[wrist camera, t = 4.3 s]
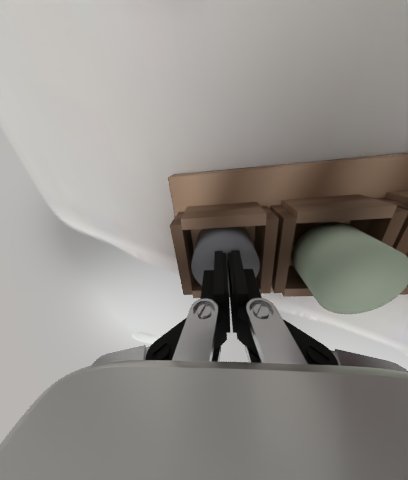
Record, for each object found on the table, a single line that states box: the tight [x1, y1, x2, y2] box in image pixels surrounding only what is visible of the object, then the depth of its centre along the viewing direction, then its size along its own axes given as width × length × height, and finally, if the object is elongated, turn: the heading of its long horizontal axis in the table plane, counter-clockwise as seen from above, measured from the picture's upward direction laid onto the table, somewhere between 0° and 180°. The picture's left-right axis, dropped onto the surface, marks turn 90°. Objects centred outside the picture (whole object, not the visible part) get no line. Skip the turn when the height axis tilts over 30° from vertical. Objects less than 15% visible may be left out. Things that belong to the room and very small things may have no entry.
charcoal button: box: [191, 227, 260, 293], centre depth 13 cm, size 5×5×4 cm
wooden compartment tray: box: [168, 153, 408, 298], centre depth 14 cm, size 23×12×5 cm, turn 95°
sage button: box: [291, 222, 408, 314], centre depth 11 cm, size 5×5×4 cm
